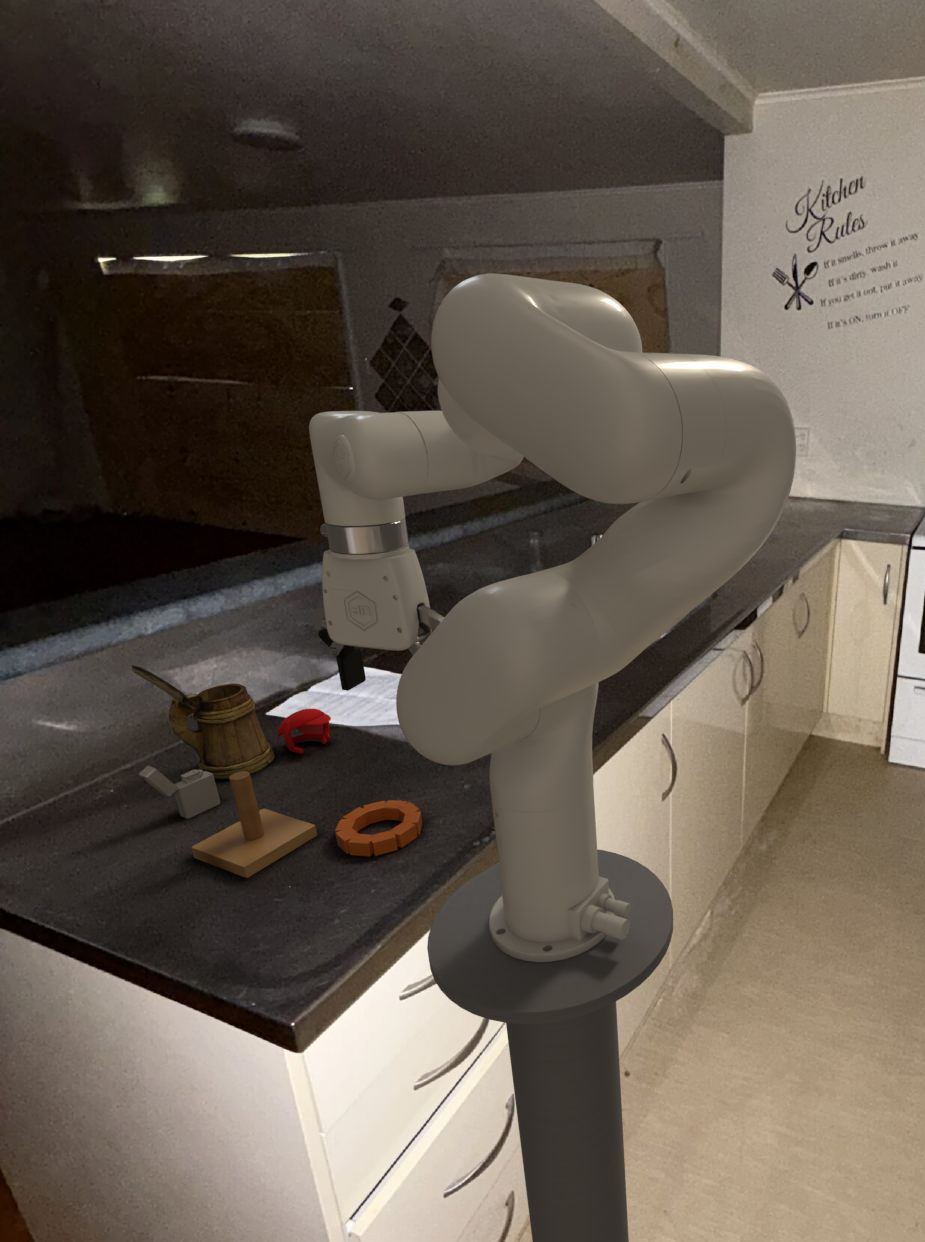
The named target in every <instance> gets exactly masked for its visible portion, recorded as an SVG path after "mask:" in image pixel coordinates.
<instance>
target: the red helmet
mask: <svg viewBox="0 0 925 1242" xmlns="http://www.w3.org/2000/svg"><path fill="white" fill-rule="evenodd" d="M331 720H332V718H331V716H330V715H328V714H326V713H325V712H324V711H322V710H320V709H318V708H304V709H301V710H300V709H299V710H297V711H295V712H293V713H291V714H289V715H288V716H286V717H285V718H284V719H283V720H282V721H281V722H280V724H279V726H278V727H277V730H276V733H277V737H281V736H283V739H284V741H285V745H286V747H287V749H288V751H290V752H292V753H296V754H299V755H303V754H304V753H305V749H304V748H301V747H300V746H299V747H298V746H295V744H296V743H299V742H303V741H307V740H317V741H320V743H321V744H322V745H326V744H327V743H328V740H330V739H331V736H330V730H331V724H330V721H331ZM295 729H297V731H299V732H300V733H301V734H300V735H296V736H293V737H292V731H293V730H295Z"/></svg>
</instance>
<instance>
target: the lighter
mask: <svg viewBox="0 0 925 1242" xmlns="http://www.w3.org/2000/svg"><path fill="white" fill-rule="evenodd" d="M138 776H140V777H141V778H142V779H143V780H144V781H146V783H148V784H149V785H150V786H151V787H153V788H154V789H155V790H156V791H158V792H159V793H160V794H161V795H163V796H166V797H167V798H170V797H171V796H172V795H173V794H174V799H175V802H176V805H177V808H178V812H179V816H180V817H182V818H184V819H191V818H194V817H195V816H197V815H199V814H201V813H203V812H206V811H207V810H210V809H212V808H214V807H216V806H219V805H220V804H221V800H220V796H219V792H218V787H217V784H216V779H214V776H213V774H212V773H210V772H207V771H204V772H203V770H199V769H194V768H193V769H192V770H189V771H187V772H185V773H183V774H181V775H180V778H181V780H180V781H178V782H175V783H173V782H172V781H171V780H170V779H169V778H167V776H165V775H164V774H163V773H162V772H160V770H158V769H157V768H155V767H153V766H151V765H147V766H145V767H144V769H142V770H140V772H139V773H138Z"/></svg>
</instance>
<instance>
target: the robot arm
mask: <svg viewBox="0 0 925 1242" xmlns="http://www.w3.org/2000/svg"><path fill="white" fill-rule="evenodd" d="M430 341H431V342H430V347H431V348H430V349H431V355H432V362H433V366H434V369H435V371H436V374H437V377H438V381H437V397H438V403H439V406H440V410H411V411H409V410H408V411H395V412H378V411H368V410H334V411H331V410H330V411H324V412H323V411H322V412H319V413H316V414H314V415H313V416H312V417H311V419H310V421H309V425H308V432H309V433H308V434H309V439H310V445H311V451H312V456H313V457H312V458H313V463H314V469H315V474H316V480H317V486H318V491H319V496H320V503H321V509H322V514H323V519H324V523H322V524H321V525H320V528H319V529H320V530H319V532H320V534H321V536H323V537H327V543H328V547H329V549H327V550H325V551H324V552H323V556H322V565H321V566H322V568H321V583H322V584H321V588H322V601H323V605H322V606H320V607H319V608H317V609H315V610H313V611H311V612H309V614H308V618H309V620H310V622H311V624H312V625H313V627H314V629H315V630H316V631H318V635H317V636H318V638H319V639H320V640H321V641H322V642H323V643H324V644H325V645H326V646H327V647H328V652H329V654H330V655H331V656H332V657H335V658H336V664H337V669H338V676H339V681H340V687H341V690H342V691H346V692H347V691H350V690H352V689H354V688H356V687H358V686H359V685H361V684H362V683H364V682H366V680H367V677H366V671H365V665H364V660H363V653H362V650H361V648H365V649H375V650H384V651H385V650H387V651H394V652H395V651H397V652H398V651H399V652H400V651H405V650H408V651H409V653H410V654H411V655H412V656H411V658H410V659H409V661H408V662H407V663H406V665H405V667H404V668H403V671H402V673H401V674H400V677H399V680H398V684H397V689H396V697H395V704H396V706H395V707H396V715H397V720H398V724H399V727H400V729H401V732H402V734H403V736H404V738H405V739H406V741H407V742H408V743H409V745H410V746H411V747H412V748H413V749H414V750H415V751H416V752H417V753H418V754H420V755H421V756H423V757H424V758H426V759H427V760H429V761H431V762H433V763H437V764H441V765H445V766H460V765H467V764H470V763H472V762H474V761H477V760H479V759H481V758H484V757H486V756H489V755H490V761H489V770H488V773H489V774H488V778H489V779H488V780H489V790H490V799H491V806H492V807H491V808H492V817H493V825H494V835H495V843H496V852H497V861H498V864H499V870H500V879H501V888H502V896H501V897H500V898H499V899H498V900H497V902H496V903H495V905H494V906H493V908H492V910H491V913H490V917H489V928H490V934H491V937H492V940H493V942H494V943H495V944H496V946H497V947H498V948H499V949H500V950H502V951H503V952H504V953H506V954H508V955H510V956H512V957H514V958H517V959H520V960H524V961H531V962H552V961H558V960H564V959H567V958H570V957H573V956H576V955H578V954H581V953H583V952H585V951H587V950H589V949H590V948H592V947H593V946H595V945H596V944H598V943H599V942H600V941H601V940H602V939H603V938H604V937H605V936H606V935H608V936H611V937H614V938H617V939H620V940H624V939H625V938H626V937H627V935H628V933H629V929H630V921H629V920H628V919H624V918H621V917H618V916H616V914H617V915H620V916H623V917H627V916H628V915H629V914H630V911H631V904H629V903H626V902H623V901H620V900H615V898H614V895H613V893H612V892H611V890H610V889H609V884H608V879H606V878H603V877H600V876H599V871H598V854H597V849H598V838H597V823H596V805H595V790H594V766H593V765H594V764H593V730H594V729H593V728H594V720H595V711H596V707H597V701H598V694H599V683H600V682H602V681H604V680H606V679H608V678H610V677H613V676H614V675H616V674H618V673H619V672H620V671H622V670H623V669H625V667H627V666H629V664H630V663H632V661H634V660H635V659H636V658H637V657H638V656H639V655H640V654H641V653H643V651H645V650H646V649H647V648H648V647H649V646H651V645H652V644H653V643H655V642H656V641H657V640H658V639H659V638H661V637H663V636H664V635H665V634H666V633H667V632H668V631H670V630H671V629H673V627H675V626H676V625H677V624H679V622H681V621H682V620H683V619H684V618H685V617H686V616H687V615H688V614H689V613H690V612H692V611H693V610H694V609H695V608H697V607H698V606H699V605H700V604H702V603H703V602H704V601H705V600H707V598H709V597H710V596H711V595H713V594H714V593H715V592H717V590H719V589H720V588H721V587H722V586H724V584H726V583H727V582H728V581H729V580H730V579H731V578H733V577H734V576H735V575H737V573H738V572H739V571H740V570H741V569H743V567H744V566H745V565H746V564H747V563H749V561H750V560H752V558H753V557H754V556H755V554H756V553H757V552H758V551H759V550H760V549H761V548H762V546H763V545H764V543H765V542H766V541H767V539H768V538H769V537H770V536H771V534H772V532H773V531H774V529H775V528H776V526H777V524H778V522H779V520H780V519H781V518H782V517H781V516H782V515H783V512H784V510H785V507H786V505H787V503H788V500H789V497H790V493H791V491H792V487H793V482H794V478H795V470H796V464H797V463H796V462H797V436H796V435H797V434H796V428H795V423H794V418H793V415H792V412H791V408H790V405H789V403H788V400H787V399H786V397H785V395H784V393H783V392H782V390H781V388H780V387H779V385H778V384H777V383H776V382H775V381H773V379H772V378H771V377H770V376H769V375H767V374H766V373H765V372H764V371H762V370H761V369H758V368H757V367H755V366H753V365H751V364H749V363H747V362H743V361H741V360H738V359H736V358H731V357H725V356H719V355H712V354H700V353H698V354H697V353H671V352H646V351H645V352H644V351H643V344H642V343H643V342H642V339H641V335H640V331H639V329H638V326H637V325H636V323H635V320H634V319H633V316H631V314H630V313H629V311H628V310H627V309H626V308H625V306H623V305H622V304H621V303H620V302H619V301H618V300H616V299H615V298H614V297H613V296H611V295H609V294H608V293H606V292H604V291H603V290H600V289H598V288H595V287H593V286H589V285H585V284H581V283H577V282H576V283H575V282H568V281H559V280H551V279H544V278H537V277H529V276H521V275H515V274H504V273H492V272H489V273H482V274H476V275H473V276H470V277H469V278H466V279H464V280H462V281H461V282H459V283H458V284H456V285H455V286H453V288H451V290H450V291H449V292H447V294H446V295H445V296H444V298H443V299H442V301H441V303H440V305H439V306H438V309H437V311H436V313H435V316H434V319H433V322H432V329H431V335H430ZM524 458H525V459H526V460H528V461H529V462H531V464H533V465H535V466H536V467H537V468H538V469H540V470H541V471H543V472H544V473H545V474H547V475H548V476H550V478H551V479H554V480H555V481H556V482H558V483H559V484H561V485H563V486H564V487H565V488H567V489H569V490H571V491H572V492H574V493H576V494H578V495H579V496H581V497H584V498H586V499H590V500H593V501H595V502H599V503H603V504H612V505H613V504H614V505H628V504H631V505H632V504H635V505H634V506H632V507H631V508H630V509H628V510H627V511H626V512H624V513H623V514H622V515H621V516H619V517H618V518H617V519H616V520H615V521H613V523H612V524H611V525H610V526H609V527H608V528H607V529H606V531H605V532H604V533H603V535H601V536H600V538H598V539H597V540H596V541H595V542H594V543H593V544H592V545H591V546H590V547H589V548H587V549H586V550H585V551H584V552H583V553H582V554H580V555H579V556H577V557H576V558H574V559H573V560H570V561H568V562H566V563H563V564H558V565H557V566H553V567H550V568H545V569H542V570H538V571H535V572H531V573H527V574H523V575H519V576H515V577H512V578H507V579H504V580H500V581H497V582H494V583H491V584H488V585H486V586H483V587H480V588H479V589H477V590H475V591H473V592H472V593H470V594H468V595H467V596H464V597H463V598H462V599H461V600H460V601H458V602H457V603H456V604H455V605H454V606H453V607H452V608H451V609H450V610H449V612H447V614H446V615H445V616H443V615H442V614H440V613H438V612H437V611H435V610H433V609H431V606H430V600H429V596H428V591H427V586H426V582H425V579H424V578H425V577H424V574H423V571H422V568H421V564H420V562H419V558H418V555H417V553H416V550H415V549H414V548H410V542H409V541H410V540H409V534H408V525H407V518H406V510H405V503H404V497H409V496H416V495H422V494H423V495H424V494H431V493H439V492H446V491H455V490H462V489H467V488H472V487H475V486H477V485H481V484H483V483H486V482H487V481H490V480H492V479H494V478H497V477H498V476H501V475H504V474H506V473H508V472H510V471H512V470H514V469H516V468H517V467H518V466H519V465H520V464H521V463H522V461H523V460H524Z"/></svg>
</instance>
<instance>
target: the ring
mask: <svg viewBox="0 0 925 1242" xmlns="http://www.w3.org/2000/svg"><path fill="white" fill-rule="evenodd" d="M383 821H399V822H401V823H399V824H398V825H396V826H394V827H393V828H392V829H389V830H386V831H382V832H379V833H378V832H377V833H374V834H370V833H369V834H368V833H358V832H359V831H361V830H363V829H364V828H366V827H368V826H369V825H371V824H374V823H378V822H383ZM422 827H423V817H422V811H421V809H420V807H418V806H417V805H415V804H414V803H412V802H411V801H409V802H408V801H407V800H395V799H388V800H387V801H386V800H380V801H376V802H371V803H368V804H364V805H362V807H361V806H359V807H357V808H355V809H353V810H352V811H350V812H349V813H347V814H345V815H344V816H342V818H341V819H339V821H338V823H337V825H336V826H335V829H334V833H335V839H336V842H337V843H336V844H337V847H339V848H340V849H341V850H342V851H343V852H344V853H345V854H346V855H348V854H349V855H350V856H357V857H358V856H359V857H372V855H374V856H375V857H377V856H381V855H384V854H388V853H392V852H395V851H398V850H399V848H400V849H402V848H404V847H406V846H407V845H408V844H410V843H411V842H412V841H414V840H415V839H417V838H418V836H419V835H421V830H422Z"/></svg>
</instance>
